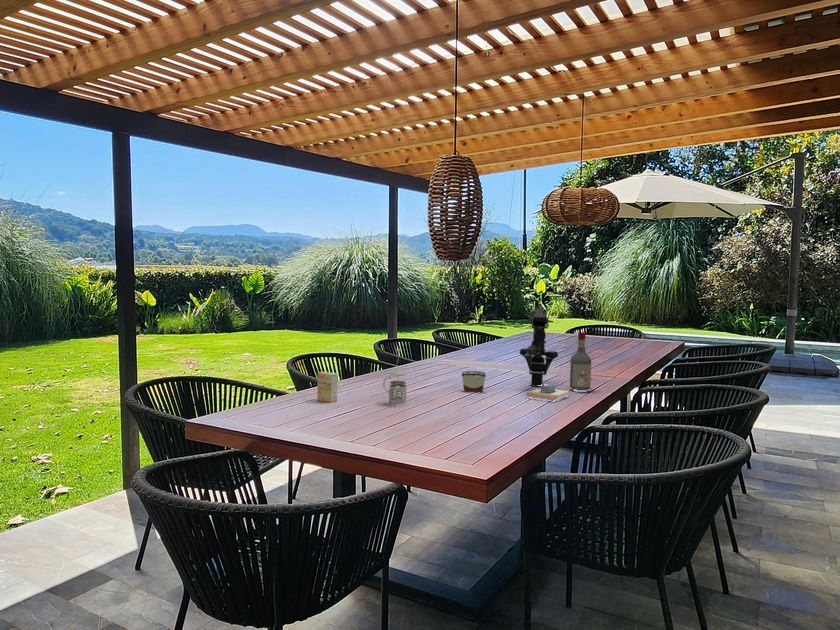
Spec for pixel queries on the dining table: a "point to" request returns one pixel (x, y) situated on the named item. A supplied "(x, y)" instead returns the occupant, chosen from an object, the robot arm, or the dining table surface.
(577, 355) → the liquor
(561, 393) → the chassis plate
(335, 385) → the supplement box
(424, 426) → the dining table surface
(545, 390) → the block
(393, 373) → the french press
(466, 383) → the food container
